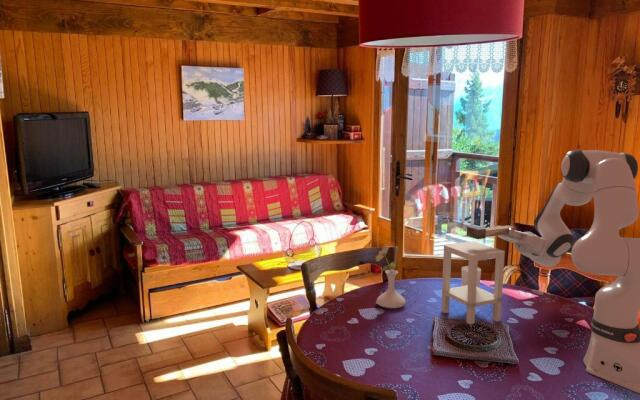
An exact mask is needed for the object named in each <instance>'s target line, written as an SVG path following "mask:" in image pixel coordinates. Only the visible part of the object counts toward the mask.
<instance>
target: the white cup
mask: <svg viewBox="0 0 640 400" xmlns="http://www.w3.org/2000/svg"><path fill="white" fill-rule="evenodd" d="M481 274H482V269H481V268H480V267H478V266H477V286H476V287H479V288H480V283H481ZM465 285H468V265H465V266H461V286H465Z"/></svg>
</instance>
